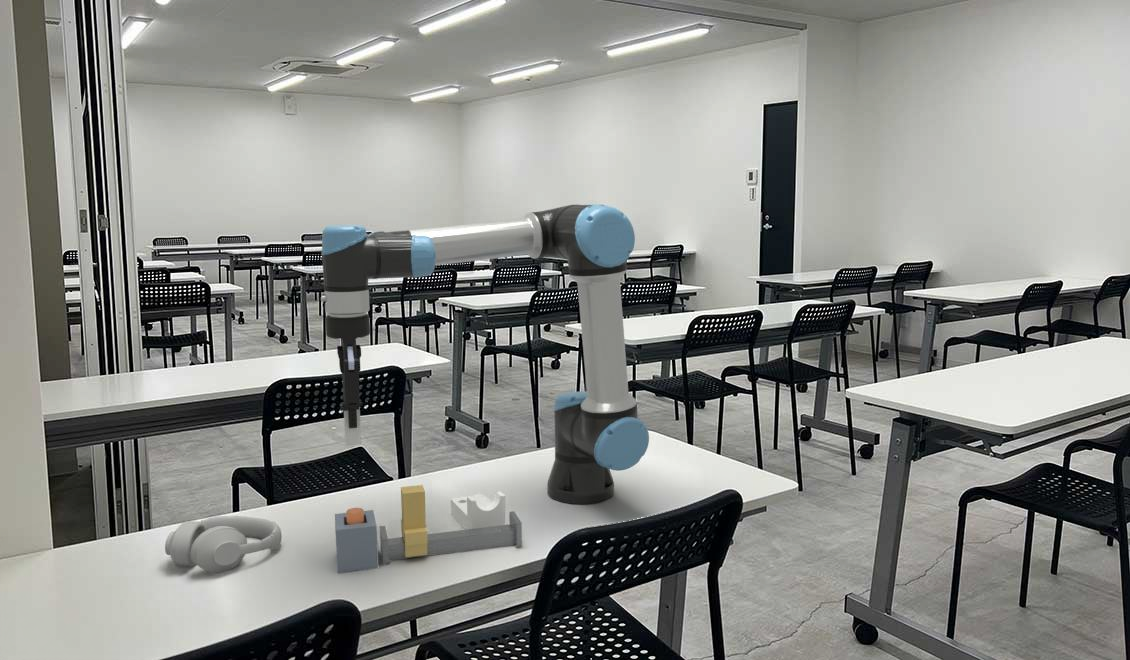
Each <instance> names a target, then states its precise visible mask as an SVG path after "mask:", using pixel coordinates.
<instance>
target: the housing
mask: <svg viewBox="0 0 1130 660" xmlns="http://www.w3.org/2000/svg"><path fill="white" fill-rule="evenodd" d="M363 514H364V523H360V524H351V525H347V514H346V512H342V513H340V512H339V513H335V514H334V524H335V525H334V527H335V543H336V544H335V545H336V546H335V547H336V548H335V549H336V562H337V563H336V565H337V572H338V574H340V573H341V574H342V573H346V572H355V571H356V572H357V571H363V570H372V569H379V556H378V555H379V553H378V527H377V525H378V524H377V521H376V518H375V517H376V516H375V511H374V509H370V510H369V509H368V510H363Z"/></svg>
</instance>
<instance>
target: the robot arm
mask: <svg viewBox="0 0 1130 660" xmlns="http://www.w3.org/2000/svg"><path fill="white" fill-rule="evenodd" d="M321 233H322V234H321V243H322V244H321V251H320V252H321V253H320V254H321V256H322V258H321V259H322V270H323V273H322V274H323V275H322V276H323V287H324V288H323V289H324V290H323V291H324V295H321V297H320V301H321V302H325V303H324V310H325V313H326V314H327V315H326V317H325V334H326V336H327V337H328V338H331V339H334V340H335V339H336V340H338V339H341V345H337V347H336V348H337V357H338V362H339V372H340V373H341V379H342V395H343V396H342V401H343V403H342V404H343V406H340V412H343V419H344V420H343V421H344V422H343V423H344V440H345V443H344V444H345V446H355V445H356V446H357V445H362V432H361V431H362V430H361V429H362V428H361V410H360V408H361V407H363V406H364V405H363V401H360V399H361V398H360V372H361V357H362V347H361V345H360V344H357V339H358V338H361V339H362V338H366V337H368V336H369V335H370V333H371V324H370V323H371V321H370V319H371V318H370V315H369V314H367V313H368V312H369V311H370V310H371V308H370V291H369V290H370V289H369V280H370V279H371V280H378V279H399V278H413V279H416V278H419V277H429V276H430V275H432V274H433V273H434V270H435V268H436V266H441V265H450V264H459V263H467V262H469V263H470V262H477V261H484V260H485V261H486V260H494V259H495V260H496V259H502V258H510V257H518V256H519V257H520V256H527V255H528V257H530V258H531V259H533V260H534V259H536V260H537V259H542V258H545V259H546V258H551V259H552V258H553V259H561V260H566V261H567V264H568V267H567V268H568V275H569V278H571V279H572V280H573V281H574V282H576V283H577V291H578V292H577V294H578V303H579V317H580V327H581V330H580V331H581V339H582V349H583V362H584V373H585V384H586V385H585V386H586V391H573V392H566V393H562V394H559V395H558V396H557V397H556V399H555V401H554V410H553V413H554V461H553V463H552V464H553V465H552V467H551V470H550V473H549V476H548V479H547V488H546V489H547V495H548V496H549V497H550V498H551V499H554V500H556V501H558V502H563V503H566V504H567V503H568V504H575V505H578V504H579V505H580V504H581V505H585V504H587V505H588V504H596V503H599V502H600V503H601V502H604V501H606V500H609V499H611V498H612V497H613V496H614V495H615V481H614V478H613V476H612V472H611V470H612V471H621V472H622V471H625V470H628V469H630V468H633V467H634V466H636V465H637V464H638V463H639V462H640V461H641V458H642V457H644V455H646V453H647V450H648V447H649V445H650V434H649V430H648V428H647V426H646V424H645V423H644V422H643V421H642V420H641V419H639V416H638V405H637V404H638V403H637V399H636V398H635V397H634V396H632V395H631V394H630V393H629V383H628V382H629V381H628V380H629V379H628V369H627V368H628V367H627V357H626V341H625V330H624V318H623V317H624V316H623V315H624V314H623V306H622V304H623V303H622V291H621V290H622V289H621V279H622V278H623V277H624V275H625V274H626V273H627V272H628V268H627V266H628V265H627V260H628V259H629V258H630V255H631V253H633V250H634V248H635V241H636V238H635V237H636V236H635V235H636V234H635V230H634V226H633V224H632V222H631V220H630V219H629V217H628V216H627V215H626V214H625V213H624V212H622V211H621V210H620V209H617V208H615V207H612V206H609V205H605V204H569V205H564V206H560V207H555V208H552V209H551V208H550V209H546V210H541V211H540V210H539V211H533V212H532V211H531V212H527V213H526V214H525V215H524V217H523V218H511V219H504V220H503V219H502V220H492V221H491V220H490V221H483V222H472V223H464V224H463V223H462V224H455V225H443V226H436V227H435V226H433V227H424V228H414V229H408V230H396V231H388V232H385V231H376V232H372V233H369V234H368V233H367V229H366V226H363V225H359V224H358V225H353V224H351V225H345V224H344V225H342V224H341V225H340V224H339V225H327V226H326V227H325V228H324V229H323V230H322V232H321Z"/></svg>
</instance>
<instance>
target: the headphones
mask: <svg viewBox="0 0 1130 660" xmlns="http://www.w3.org/2000/svg"><path fill="white" fill-rule="evenodd" d="M254 537H255V538H257V539H260V540H258V541H255V542H254V541H252V542H248V539H247V538H254ZM255 538H254V539H255ZM282 539H283V537H282V530H281V527H280V526H279V524H277V523H276V522H275V521H271V520H270V519H265V518H259V517H252V516H239V515H229V516H227V515H226V516H224V515H222V516H212V517H208V518H205V519H202V520H200V521H199V520H198V521H196V520H195V521H194V520H189V521H183V522H182V523H181V524H180V525H179V526H178V527H177V528H176V529H175V531H171V532H170V533H169V534H168V535H167V537H166V540H165V545H164V552H165V554H166V555H167V556H170V558H171V561H172V563H173V564H174V566H178V567H195V566H197V567H199V568H200V569H202V570H204V571H206V572H210V573H213V574H215V573H223V572H224V573H225V572H227V571H229V570H231V569H233V568H234V567H236V566H237V565H239V564H240V563H241V562H242V560H244V557H245V556H246V555H248V554H253V553H257V552H260V551H265V550H271V551H276V550H277V549H279V547H280V546H281V543H282Z"/></svg>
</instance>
